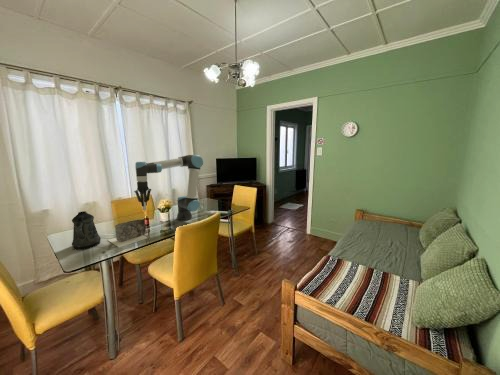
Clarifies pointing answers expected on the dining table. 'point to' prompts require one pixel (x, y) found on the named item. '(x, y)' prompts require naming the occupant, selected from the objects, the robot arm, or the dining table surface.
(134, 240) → the mat
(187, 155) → the robot arm
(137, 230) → the stone block
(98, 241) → the black drawstring bag
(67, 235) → the dining table surface
